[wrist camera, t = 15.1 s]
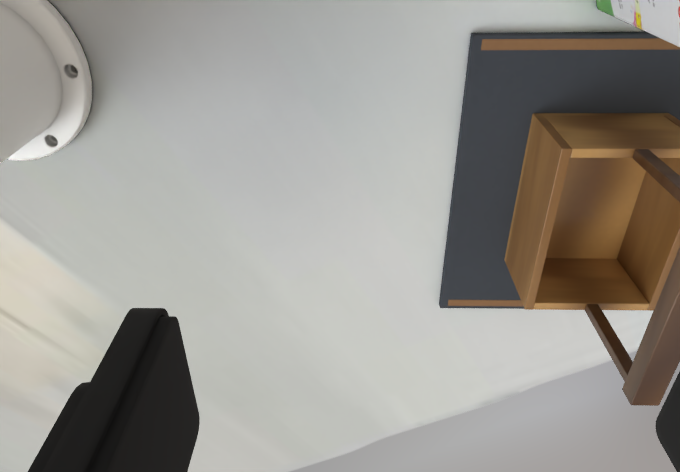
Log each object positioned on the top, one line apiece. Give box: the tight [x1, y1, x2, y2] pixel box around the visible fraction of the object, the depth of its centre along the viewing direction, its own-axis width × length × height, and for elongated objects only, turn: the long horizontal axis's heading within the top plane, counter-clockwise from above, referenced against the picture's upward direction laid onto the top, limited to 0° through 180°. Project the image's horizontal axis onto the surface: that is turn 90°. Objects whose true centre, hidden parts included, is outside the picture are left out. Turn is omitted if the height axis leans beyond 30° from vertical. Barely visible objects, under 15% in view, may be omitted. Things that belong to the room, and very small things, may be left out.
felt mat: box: [439, 32, 680, 308], centre depth 39 cm, size 18×22×1 cm
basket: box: [504, 113, 680, 405], centre depth 32 cm, size 9×12×14 cm
